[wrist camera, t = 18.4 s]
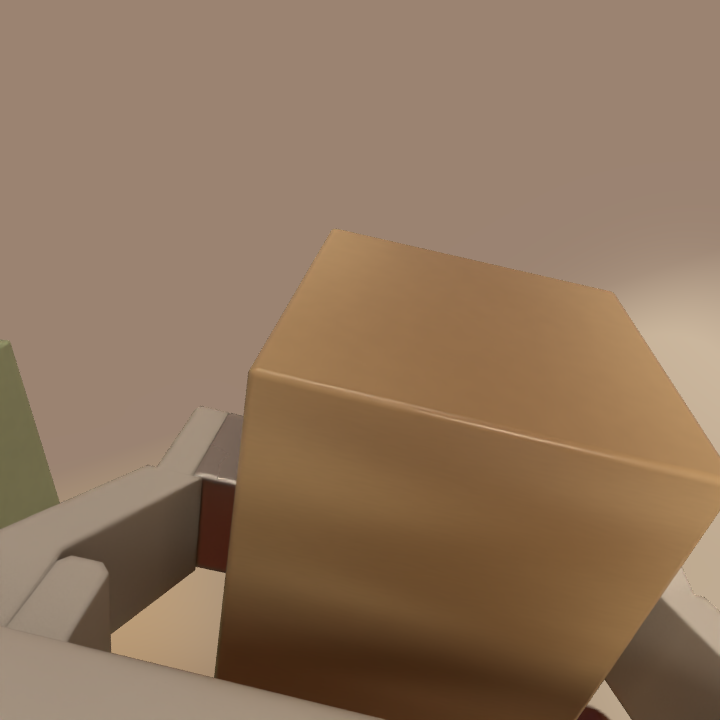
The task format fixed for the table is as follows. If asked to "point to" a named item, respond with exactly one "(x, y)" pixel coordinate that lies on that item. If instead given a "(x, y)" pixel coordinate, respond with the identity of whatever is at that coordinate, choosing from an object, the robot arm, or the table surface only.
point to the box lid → (20, 449)
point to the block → (453, 490)
